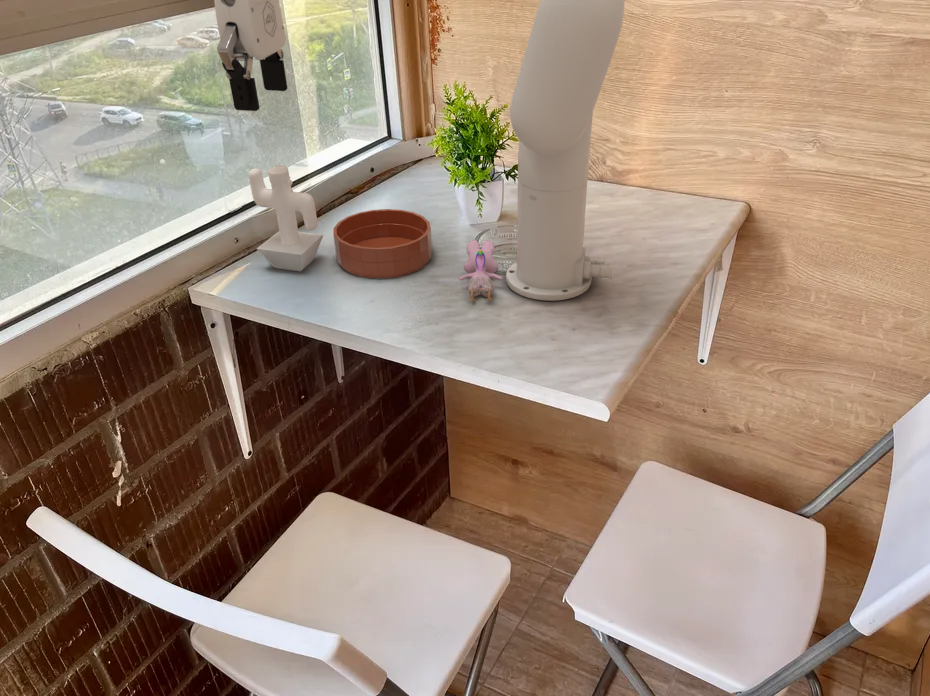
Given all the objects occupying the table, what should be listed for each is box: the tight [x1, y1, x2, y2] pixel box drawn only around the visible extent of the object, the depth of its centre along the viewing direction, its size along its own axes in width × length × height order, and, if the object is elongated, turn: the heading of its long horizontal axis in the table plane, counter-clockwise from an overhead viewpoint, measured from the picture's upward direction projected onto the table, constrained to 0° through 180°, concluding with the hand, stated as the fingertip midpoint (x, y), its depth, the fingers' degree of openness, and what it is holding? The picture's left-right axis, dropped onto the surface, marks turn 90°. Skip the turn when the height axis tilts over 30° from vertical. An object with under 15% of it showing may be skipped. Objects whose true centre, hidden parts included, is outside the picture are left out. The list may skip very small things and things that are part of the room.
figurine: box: [248, 164, 324, 273], centre depth 114 cm, size 7×9×15 cm
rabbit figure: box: [458, 239, 503, 303], centre depth 112 cm, size 6×6×15 cm
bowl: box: [332, 208, 433, 279], centre depth 118 cm, size 15×15×5 cm
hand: (262, 99), depth 104 cm, fingers open, 9 cm apart
